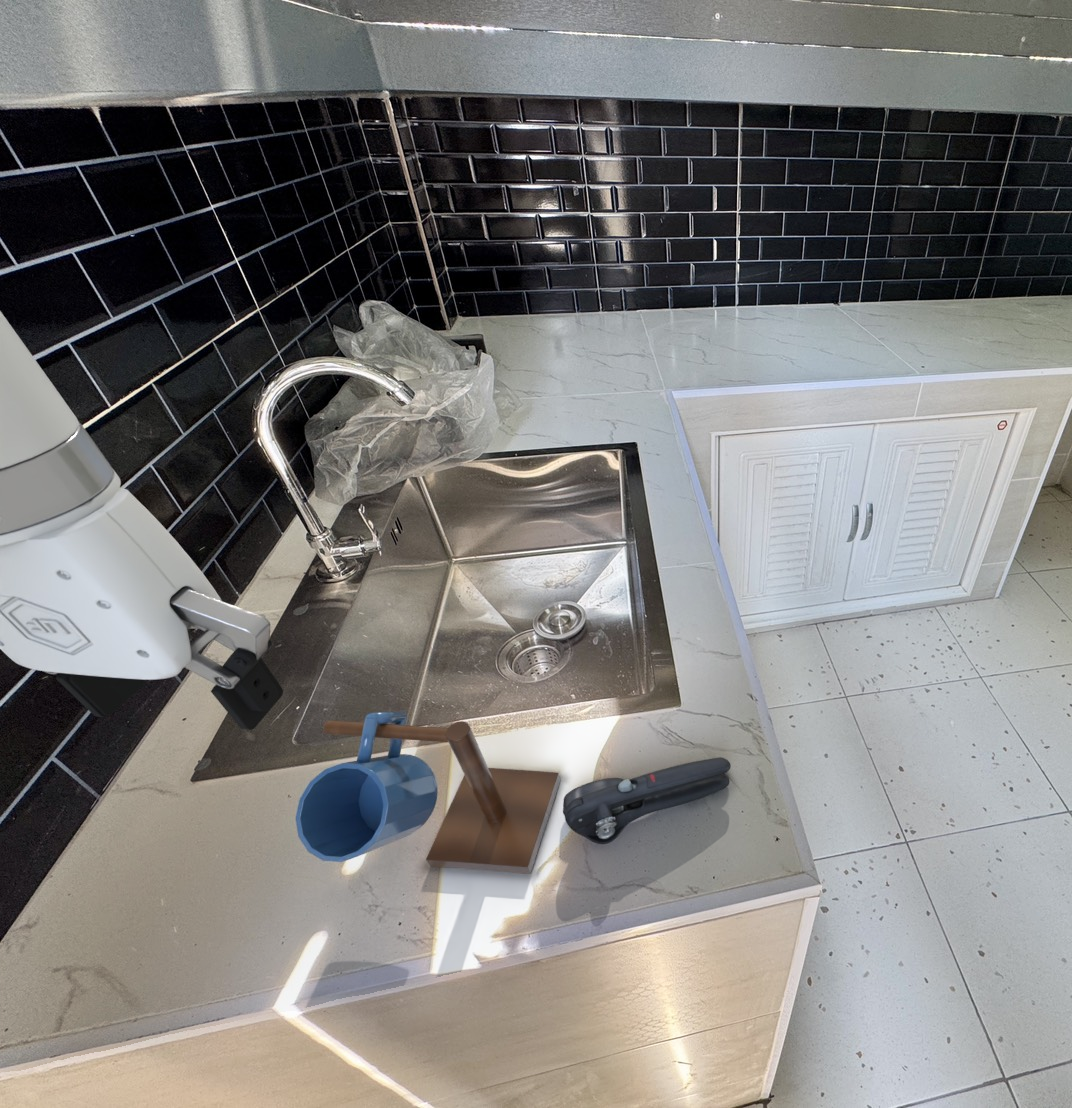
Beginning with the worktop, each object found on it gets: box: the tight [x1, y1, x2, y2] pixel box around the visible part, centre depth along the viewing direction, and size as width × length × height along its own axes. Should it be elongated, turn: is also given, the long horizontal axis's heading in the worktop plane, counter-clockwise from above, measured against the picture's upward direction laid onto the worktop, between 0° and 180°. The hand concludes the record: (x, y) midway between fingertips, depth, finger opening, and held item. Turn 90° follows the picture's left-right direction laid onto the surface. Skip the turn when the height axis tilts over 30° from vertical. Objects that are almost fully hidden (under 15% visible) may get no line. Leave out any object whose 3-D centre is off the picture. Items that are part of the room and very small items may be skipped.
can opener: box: [562, 757, 732, 845], centre depth 62 cm, size 18×7×6 cm, turn 108°
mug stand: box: [322, 719, 561, 875], centre depth 58 cm, size 10×17×16 cm, turn 86°
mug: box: [295, 710, 439, 863], centre depth 53 cm, size 11×7×8 cm
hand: (193, 705), depth 40 cm, fingers open, 9 cm apart
